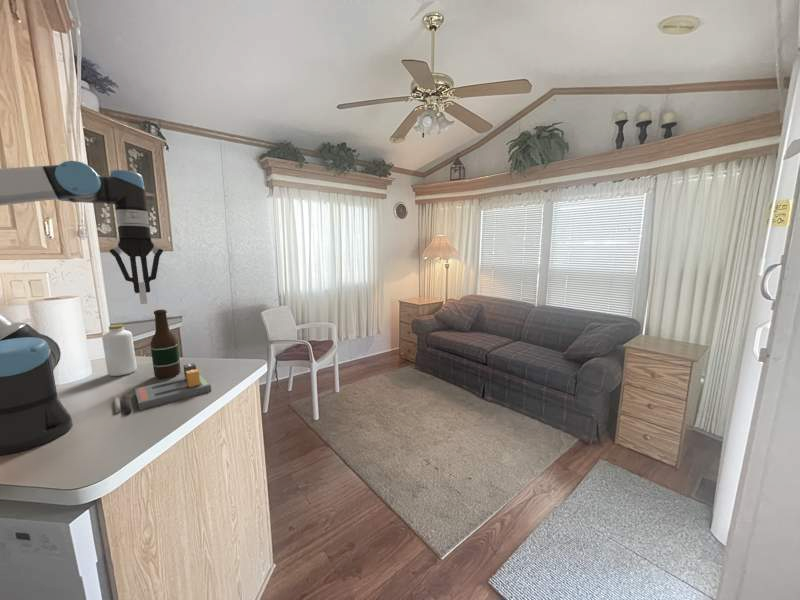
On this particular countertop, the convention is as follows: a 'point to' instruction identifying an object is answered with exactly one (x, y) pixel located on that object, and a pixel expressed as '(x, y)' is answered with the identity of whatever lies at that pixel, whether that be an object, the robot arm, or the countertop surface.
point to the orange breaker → (192, 377)
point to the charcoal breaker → (189, 368)
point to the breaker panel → (169, 392)
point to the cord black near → (126, 405)
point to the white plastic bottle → (119, 351)
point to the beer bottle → (164, 348)
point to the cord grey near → (117, 405)
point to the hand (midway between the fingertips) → (144, 303)
